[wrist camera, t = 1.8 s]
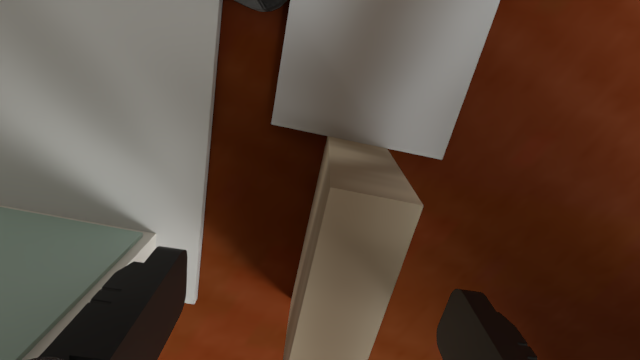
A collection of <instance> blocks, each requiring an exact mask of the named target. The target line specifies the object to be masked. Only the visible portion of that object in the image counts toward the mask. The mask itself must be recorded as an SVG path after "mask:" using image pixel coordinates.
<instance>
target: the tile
mask: <svg viewBox="0 0 640 360" xmlns="http://www.w3.org/2000/svg"><path fill="white" fill-rule="evenodd" d="M155 249H156V233H150V232H145V231H139V230H134V229H128V228H123V227H117V226H112V225H106V224H101V223H95V222H90V221H84V220H79V219H73V218H68V217H62V216H57V215H51V214H46V213H40V212H35V211H29V210H24V209H18V208H13V207H7V206H2V205H0V360H29V359H33V358H38V357H39V356H40V355H41V354H42V353H43V352H44V351H45V349H46V348H47V347H48V346H49V345H50V344H51V343H52V342H53V341H54V339H55V338H56V337H57V336H58V335H59V334H60V333H61V332H62V331H63V330H64V328H65V327H66V326H67V325H68V324H69V323H70V322H71V321H72V320H73V318H74V317H75V316H76V315H77V314H78V313H79V312H80V311H81V310H82V309H83V307H84V306H85V305H86V304H87V303H90V301H91V299H92V297H93V296H94V295H95V294H96V293H97V292H98V291H99V290H101V289H102V286H103V285H104V284H105V283H106V282H107V281H108V280H109V279H110V278H111V276H112V275H113V274H114V273H115V272H117V271H118V270H120V269H122V268H123V267H125V266H127V265H129V264H130V263H132V262H134V261H135V262H142V263H144V262H145V261H146V260H147V258H148V257H149V256H150V255H151V253H152V252H153V251H154V250H155Z"/></svg>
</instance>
